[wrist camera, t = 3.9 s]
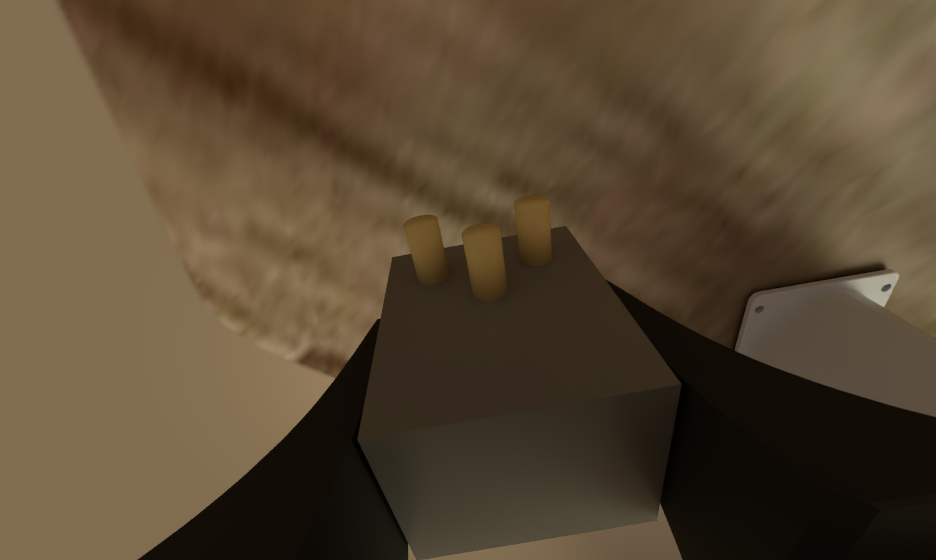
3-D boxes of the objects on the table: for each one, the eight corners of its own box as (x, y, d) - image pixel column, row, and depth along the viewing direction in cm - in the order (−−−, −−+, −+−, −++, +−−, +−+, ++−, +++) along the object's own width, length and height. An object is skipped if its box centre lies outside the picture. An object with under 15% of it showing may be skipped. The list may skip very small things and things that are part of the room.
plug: (569, 334, 13) (657, 520, 8) (423, 359, 13) (416, 559, 8) (564, 174, 10) (695, 303, 5) (377, 208, 10) (322, 369, 5)
